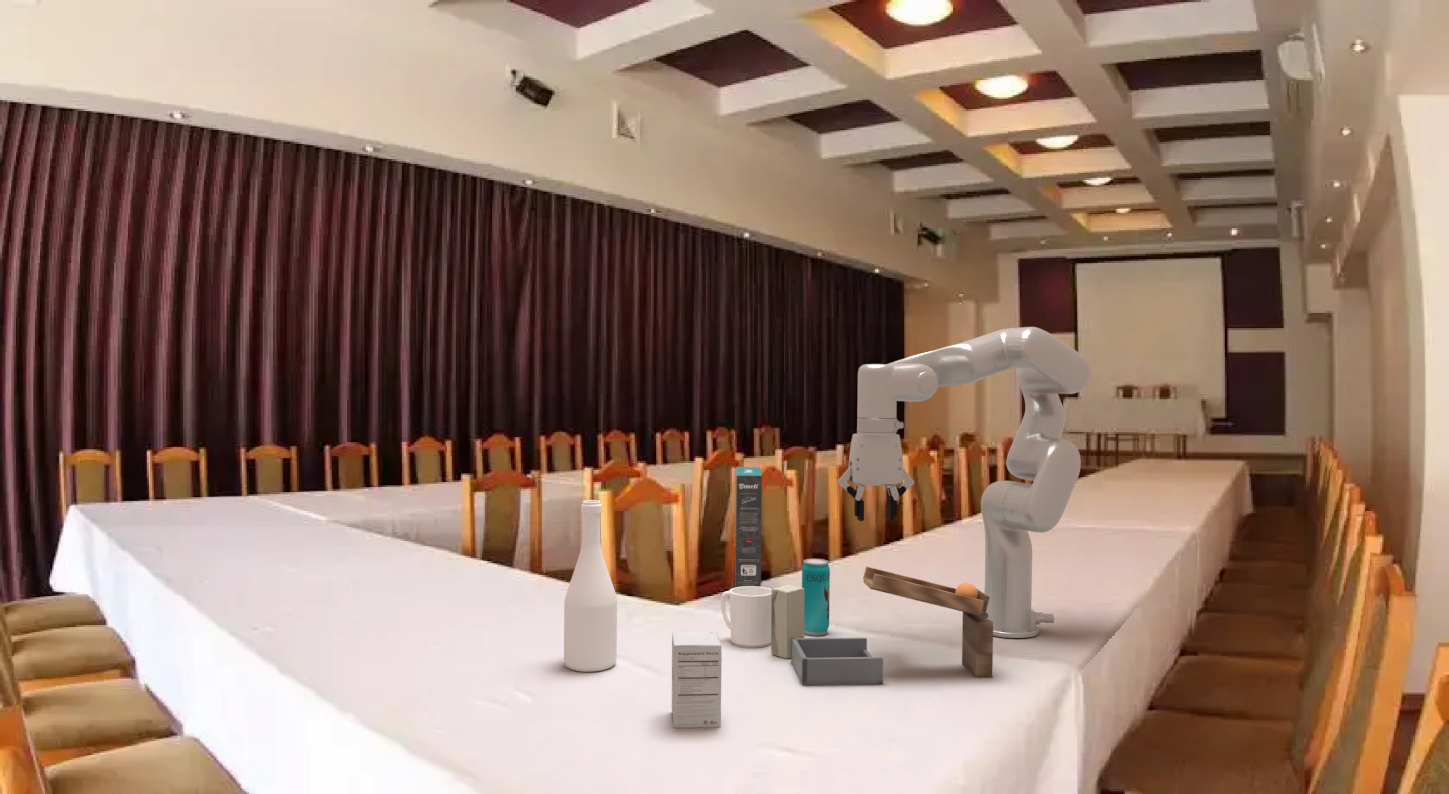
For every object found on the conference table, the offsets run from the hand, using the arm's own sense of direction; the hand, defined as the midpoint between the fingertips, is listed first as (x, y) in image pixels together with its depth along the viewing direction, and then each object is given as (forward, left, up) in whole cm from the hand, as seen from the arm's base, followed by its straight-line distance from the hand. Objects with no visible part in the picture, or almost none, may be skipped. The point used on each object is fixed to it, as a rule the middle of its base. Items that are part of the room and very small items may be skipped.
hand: (875, 519), depth 180 cm
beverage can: (+10, -12, -26) cm, 30 cm away
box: (+18, +3, -26) cm, 31 cm away
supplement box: (+37, +36, -26) cm, 57 cm away
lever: (-5, +10, -13) cm, 17 cm away
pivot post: (-15, +15, -25) cm, 33 cm away
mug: (+25, -6, -26) cm, 36 cm away
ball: (-13, +15, -11) cm, 23 cm away
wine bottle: (+55, +8, -26) cm, 61 cm away
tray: (+11, +15, -25) cm, 31 cm away
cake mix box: (+20, -50, -26) cm, 60 cm away
